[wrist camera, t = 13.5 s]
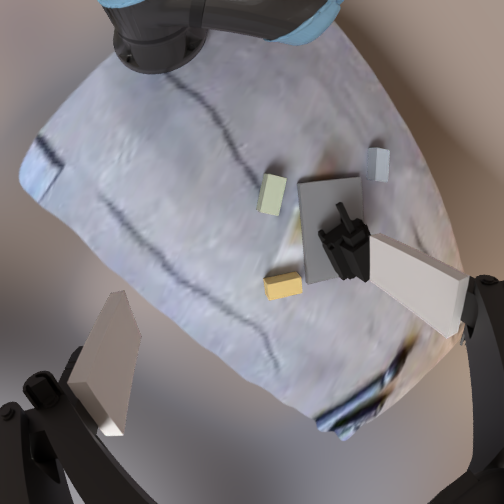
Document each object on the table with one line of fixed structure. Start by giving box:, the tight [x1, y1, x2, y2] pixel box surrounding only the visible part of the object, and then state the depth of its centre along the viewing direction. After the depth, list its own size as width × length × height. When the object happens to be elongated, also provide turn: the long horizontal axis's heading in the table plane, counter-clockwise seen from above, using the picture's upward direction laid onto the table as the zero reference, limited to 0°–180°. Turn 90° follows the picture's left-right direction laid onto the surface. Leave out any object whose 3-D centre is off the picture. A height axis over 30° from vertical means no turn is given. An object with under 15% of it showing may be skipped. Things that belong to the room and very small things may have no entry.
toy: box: [318, 202, 371, 282], centre depth 44 cm, size 8×14×10 cm, turn 32°
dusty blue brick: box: [367, 148, 390, 182], centre depth 47 cm, size 6×3×3 cm, turn 177°
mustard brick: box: [263, 272, 302, 301], centre depth 50 cm, size 6×3×3 cm, turn 98°
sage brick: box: [256, 174, 287, 216], centre depth 45 cm, size 6×3×3 cm, turn 168°
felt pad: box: [297, 177, 364, 284], centre depth 49 cm, size 18×12×1 cm, turn 8°
